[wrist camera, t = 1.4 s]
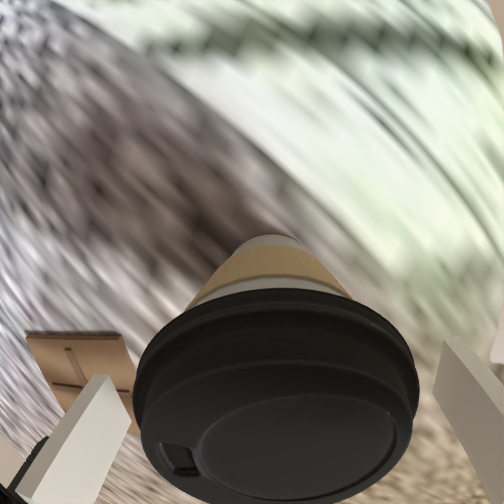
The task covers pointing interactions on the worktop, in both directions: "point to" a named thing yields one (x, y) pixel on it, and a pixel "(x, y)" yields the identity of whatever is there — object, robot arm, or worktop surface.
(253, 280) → the coffee cup
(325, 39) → the worktop surface
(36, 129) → the worktop surface
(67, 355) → the plate
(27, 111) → the worktop surface
